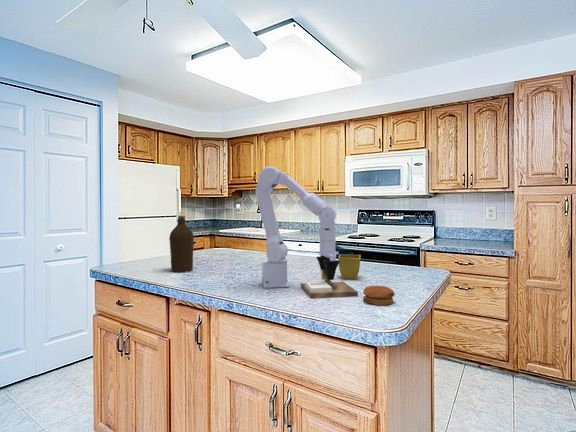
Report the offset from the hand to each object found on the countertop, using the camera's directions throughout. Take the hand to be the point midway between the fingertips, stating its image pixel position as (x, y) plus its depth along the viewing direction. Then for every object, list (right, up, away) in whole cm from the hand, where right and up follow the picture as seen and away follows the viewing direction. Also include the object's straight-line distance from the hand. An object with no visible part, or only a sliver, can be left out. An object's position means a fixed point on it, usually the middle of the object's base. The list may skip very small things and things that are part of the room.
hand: (327, 277), depth 130 cm
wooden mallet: (+1, -2, -4) cm, 4 cm away
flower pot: (+11, -3, +17) cm, 20 cm away
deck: (-1, -4, -6) cm, 7 cm away
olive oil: (-63, -3, +34) cm, 71 cm away
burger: (+14, -5, -18) cm, 23 cm away
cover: (-4, -2, -8) cm, 10 cm away
